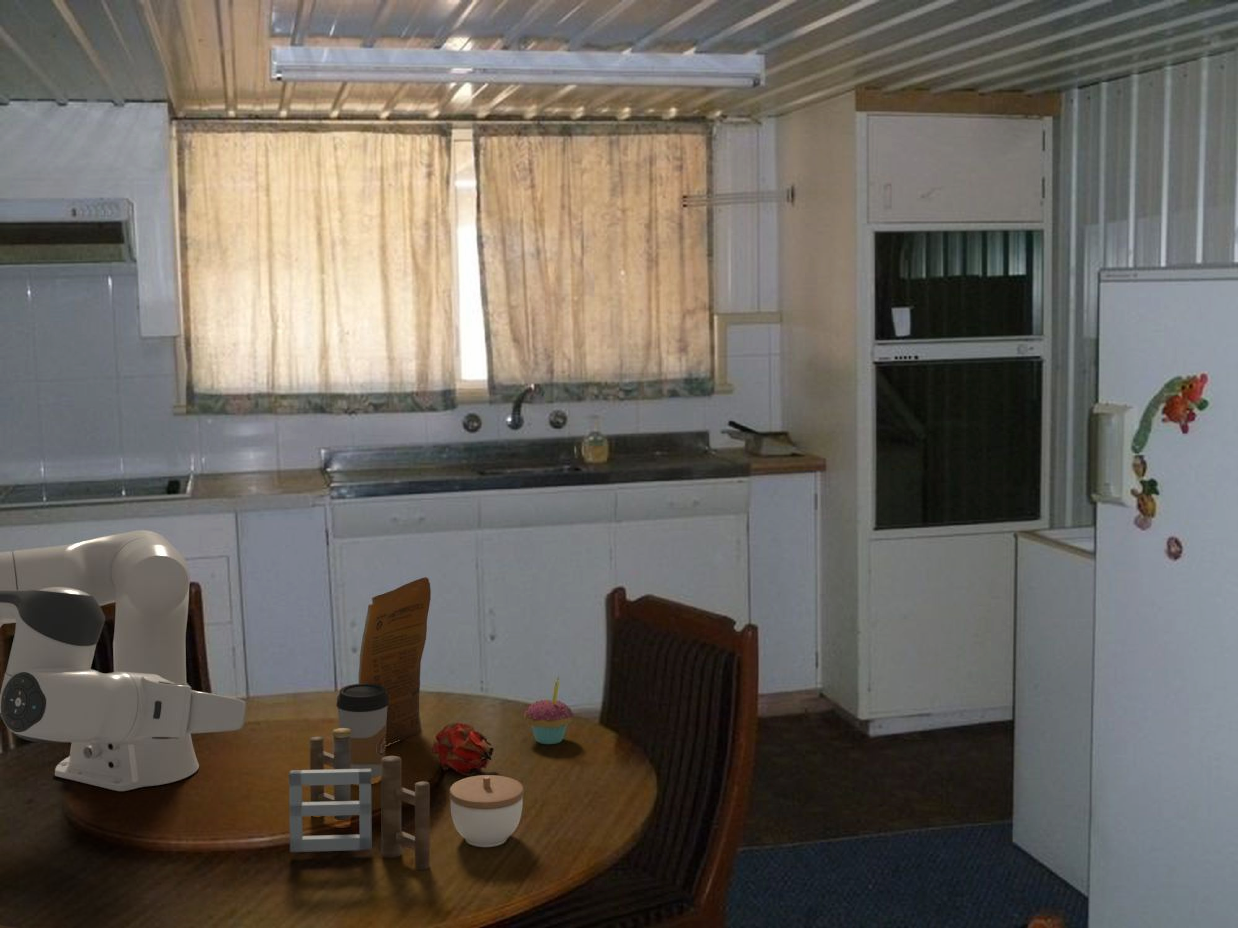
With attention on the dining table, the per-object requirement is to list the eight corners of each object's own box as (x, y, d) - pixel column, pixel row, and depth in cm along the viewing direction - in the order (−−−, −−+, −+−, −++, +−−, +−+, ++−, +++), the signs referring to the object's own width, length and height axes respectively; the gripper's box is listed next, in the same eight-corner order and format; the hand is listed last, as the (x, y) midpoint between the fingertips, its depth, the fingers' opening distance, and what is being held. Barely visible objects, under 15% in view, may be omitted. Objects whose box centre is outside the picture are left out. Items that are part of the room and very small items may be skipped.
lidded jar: (493, 860, 192) (493, 796, 190) (434, 842, 197) (434, 780, 196) (537, 834, 201) (538, 773, 199) (479, 818, 206) (480, 758, 205)
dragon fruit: (438, 767, 231) (487, 795, 224) (411, 750, 225) (460, 779, 217) (464, 723, 233) (514, 749, 226) (437, 705, 227) (487, 731, 220)
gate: (371, 845, 193) (371, 768, 191) (371, 849, 192) (370, 771, 190) (291, 848, 192) (290, 770, 190) (290, 851, 191) (289, 773, 189)
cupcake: (581, 738, 242) (582, 673, 241) (554, 751, 235) (555, 684, 234) (542, 728, 247) (543, 664, 245) (514, 741, 240) (514, 675, 238)
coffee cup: (377, 791, 216) (377, 699, 214) (328, 786, 218) (327, 695, 215) (396, 772, 224) (396, 684, 222) (349, 767, 226) (348, 680, 224)
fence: (294, 820, 204) (293, 726, 202) (320, 810, 208) (318, 718, 206) (419, 871, 187) (419, 770, 185) (444, 860, 191) (445, 761, 189)
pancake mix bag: (443, 728, 246) (443, 577, 242) (371, 758, 230) (370, 597, 226) (414, 721, 250) (414, 572, 246) (341, 750, 233) (340, 591, 230)
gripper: (90, 730, 176) (182, 733, 187) (182, 738, 163) (275, 741, 174) (96, 681, 177) (188, 687, 188) (188, 685, 165) (281, 691, 175)
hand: (231, 713), depth 181 cm, fingers closed
